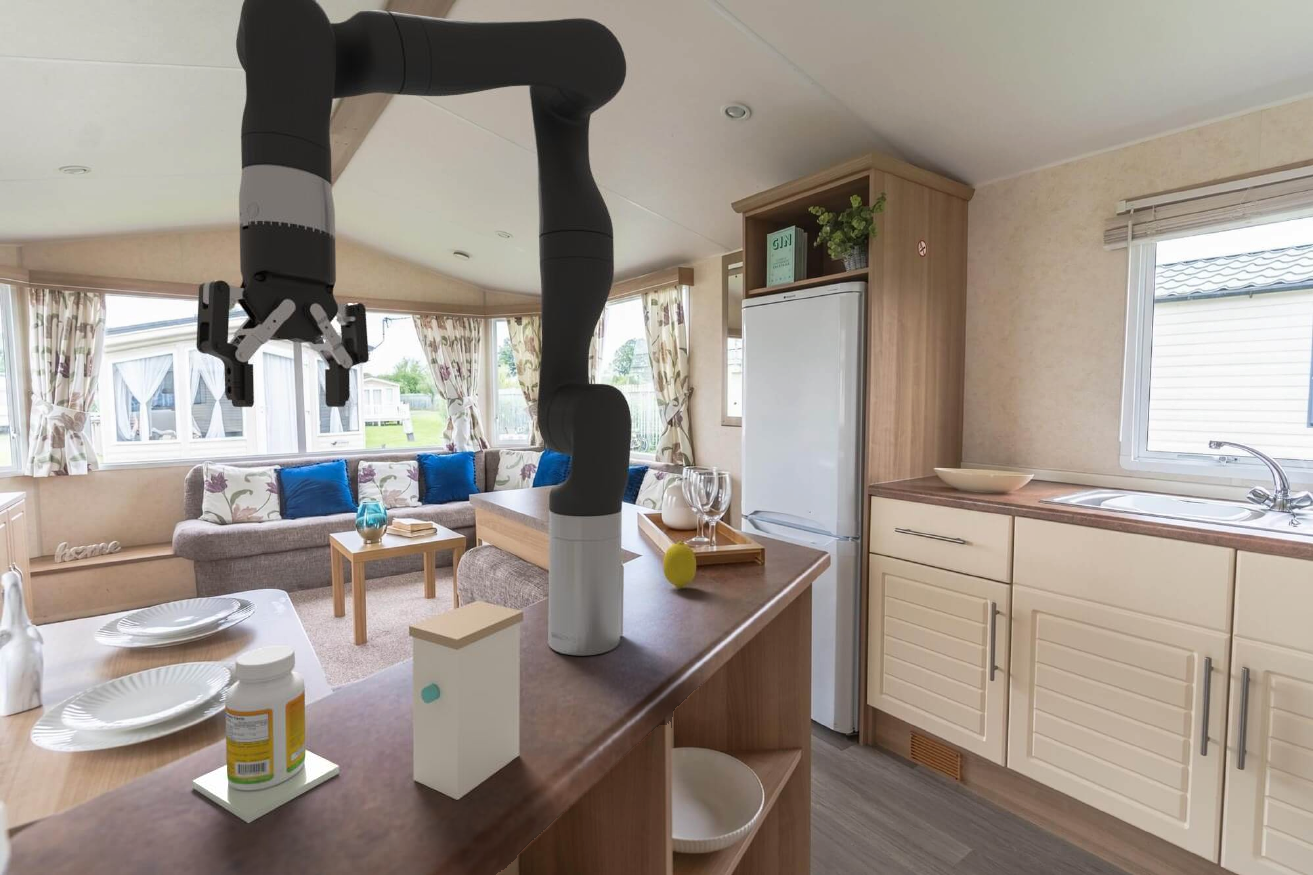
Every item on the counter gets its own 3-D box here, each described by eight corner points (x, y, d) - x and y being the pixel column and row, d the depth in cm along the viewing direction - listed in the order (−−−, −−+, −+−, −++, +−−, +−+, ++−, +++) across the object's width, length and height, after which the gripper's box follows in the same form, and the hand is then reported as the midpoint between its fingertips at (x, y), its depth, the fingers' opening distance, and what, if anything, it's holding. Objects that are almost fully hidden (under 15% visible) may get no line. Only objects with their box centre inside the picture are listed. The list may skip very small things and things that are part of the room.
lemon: (696, 594, 99) (697, 545, 99) (662, 593, 100) (663, 545, 99) (694, 584, 105) (696, 538, 105) (662, 583, 105) (663, 537, 105)
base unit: (478, 737, 56) (478, 600, 55) (523, 754, 53) (524, 611, 53) (403, 784, 49) (402, 628, 48) (451, 806, 46) (451, 642, 46)
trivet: (283, 745, 54) (283, 738, 54) (339, 773, 50) (338, 765, 50) (192, 787, 48) (192, 780, 48) (248, 823, 44) (248, 815, 44)
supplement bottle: (290, 745, 53) (289, 636, 53) (316, 770, 50) (315, 653, 49) (217, 773, 49) (215, 655, 48) (239, 802, 46) (237, 675, 45)
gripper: (337, 251, 64) (339, 406, 65) (177, 213, 51) (182, 406, 52) (384, 243, 60) (385, 407, 61) (224, 200, 48) (229, 407, 49)
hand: (292, 406), depth 57 cm, fingers open, 8 cm apart
